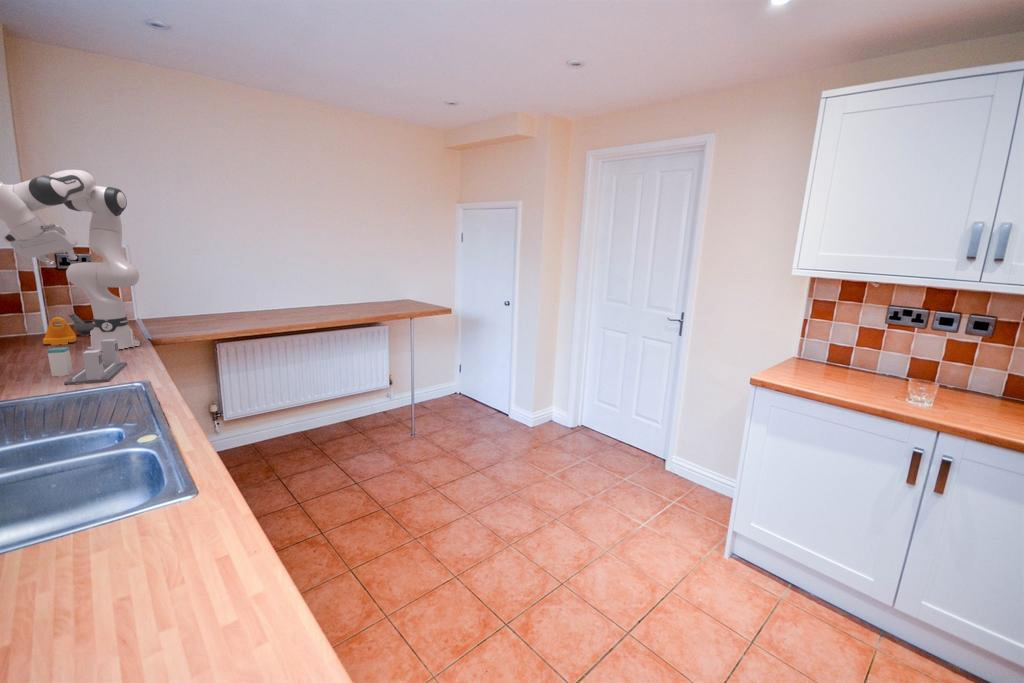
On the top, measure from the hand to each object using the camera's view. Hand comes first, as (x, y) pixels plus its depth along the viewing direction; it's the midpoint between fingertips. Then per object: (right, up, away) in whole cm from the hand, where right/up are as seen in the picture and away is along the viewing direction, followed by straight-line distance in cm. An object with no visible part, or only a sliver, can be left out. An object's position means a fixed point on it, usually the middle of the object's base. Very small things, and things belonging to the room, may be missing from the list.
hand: (63, 262), depth 172 cm
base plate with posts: (+10, -42, +3) cm, 43 cm away
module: (-1, -42, +1) cm, 42 cm away
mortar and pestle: (-49, -27, +63) cm, 84 cm away
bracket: (-46, -31, +46) cm, 72 cm away
